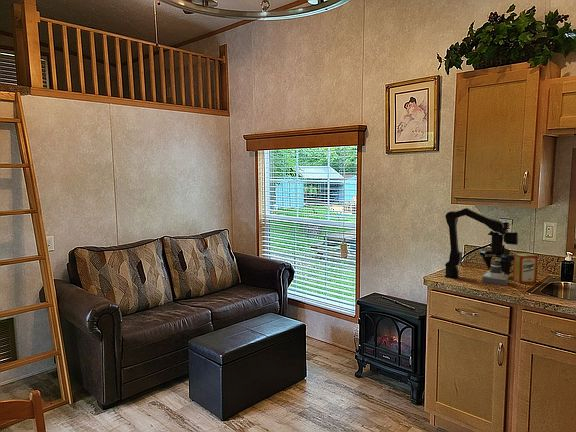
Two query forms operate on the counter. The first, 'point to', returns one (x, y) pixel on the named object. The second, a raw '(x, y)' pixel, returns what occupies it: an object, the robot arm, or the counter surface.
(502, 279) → the octagonal ring tray
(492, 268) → the lens
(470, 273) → the counter surface
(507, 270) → the coffee mug
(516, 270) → the baking soda box
